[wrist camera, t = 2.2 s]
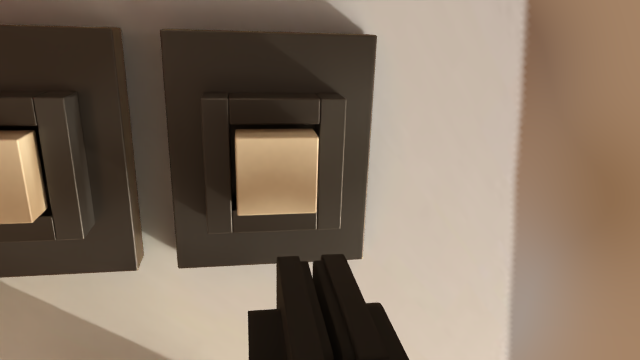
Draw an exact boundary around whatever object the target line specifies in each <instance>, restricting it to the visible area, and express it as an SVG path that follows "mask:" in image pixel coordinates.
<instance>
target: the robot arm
mask: <svg viewBox="0 0 640 360" xmlns="http://www.w3.org/2000/svg"><path fill="white" fill-rule="evenodd" d="M248 335H249V360H409V358H408V356H407V354H406V352H405V350H404V348H403V346H402V344H401V342H400V340H399V338H398V336H397V334H396V332H395V330H394V328H393V326H392V324H391V322H390V320H389V318H388V316H387V314H386V312H385V310H384V308H383V306H382V305H381V304H380V303H365V301H364V298H363V296H362V294H361V292H360V289H359V287H358V285H357V283H356V280H355V278H354V276H353V274H352V271H351V269H350V267H349V265H348V262H347V260H346V258H345V256H344V254H326V255H321V260H318V261H314V262H313V279H312V275H311V272H310V268H309V264H308V261H300V258H299V256H284V257H277V309H271V310H256V311H248Z"/></svg>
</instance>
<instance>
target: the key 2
mask: <svg viewBox="0 0 640 360" xmlns="http://www.w3.org/2000/svg"><path fill="white" fill-rule="evenodd" d="M318 144H319V138H318V136H317V134H316V133H315V131H314V130H313V129H312V128H311V129H236V130H235V164H236V198H237V215H239V216H241V215H269V214H298V213H316V211H317V179H318Z"/></svg>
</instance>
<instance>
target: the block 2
mask: <svg viewBox="0 0 640 360" xmlns="http://www.w3.org/2000/svg"><path fill="white" fill-rule="evenodd" d="M160 37H161V50H162V63H163V76H164V90H165V103H166V116H167V129H168V142H169V155H170V168H171V182H172V195H173V208H174V221H175V234H176V247H177V260H178V268H197V267H216V266H236V265H255V264H275V263H277V257H284V256H299V258H300V261H308V262H314V261H318V260H321V255H326V254H344V256H345V258H346V260H353V259H362V258H363V245H364V229H365V214H366V198H367V183H368V167H369V152H370V136H371V121H372V105H373V90H374V74H375V59H376V43H377V36H376V35H369V34H339V33H302V32H265V31H228V30H190V29H162V30H160ZM311 128H312V129H313V130H314V131H315V133H316V134H317V136H318V138H319V144H318V179H317V211H316V213H298V214H269V215H241V216H239V215H237V198H236V164H235V130H236V129H311Z"/></svg>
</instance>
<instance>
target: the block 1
mask: <svg viewBox="0 0 640 360" xmlns="http://www.w3.org/2000/svg"><path fill="white" fill-rule="evenodd" d="M0 130H35V132H36V138H37V144H38V150H39V156H40V162H41V168H42V174H43V180H44V186H45V192H46V198H47V204H48V208H47V209H46V210H45V211H44V212H43V213H42V214H41V215H40V216H39V217H38V218H37V219H36V220H35V221H34V222H33V223H13V224H0V277H20V276H39V275H59V274H78V273H98V272H117V271H136V270H138V268H139V266H140V263H141V261H142V258H143V256H144V252H143V242H142V232H141V222H140V212H139V202H138V192H137V183H136V173H135V163H134V153H133V143H132V133H131V123H130V113H129V104H128V94H127V84H126V74H125V64H124V54H123V44H122V34H121V29H120V28H116V27H79V26H42V25H4V24H0Z"/></svg>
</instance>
